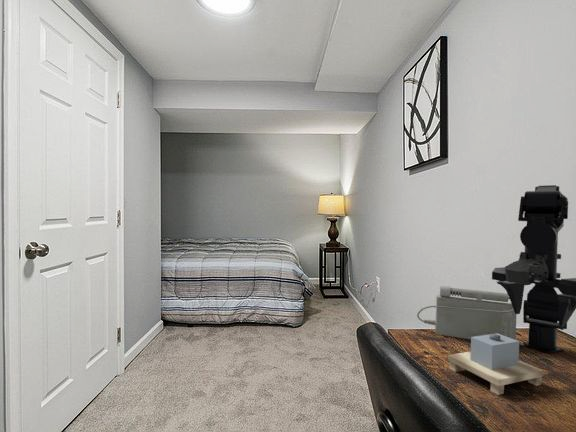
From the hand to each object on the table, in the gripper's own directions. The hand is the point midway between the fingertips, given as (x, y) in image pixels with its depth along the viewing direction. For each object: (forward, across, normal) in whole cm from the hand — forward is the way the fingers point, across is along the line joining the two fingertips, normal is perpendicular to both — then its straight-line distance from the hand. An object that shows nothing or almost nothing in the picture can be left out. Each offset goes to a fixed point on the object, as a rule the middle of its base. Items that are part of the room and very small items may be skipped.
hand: (538, 319), depth 74 cm
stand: (+12, -2, -10) cm, 16 cm away
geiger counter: (+12, -22, +4) cm, 26 cm away
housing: (+9, -2, -10) cm, 14 cm away
